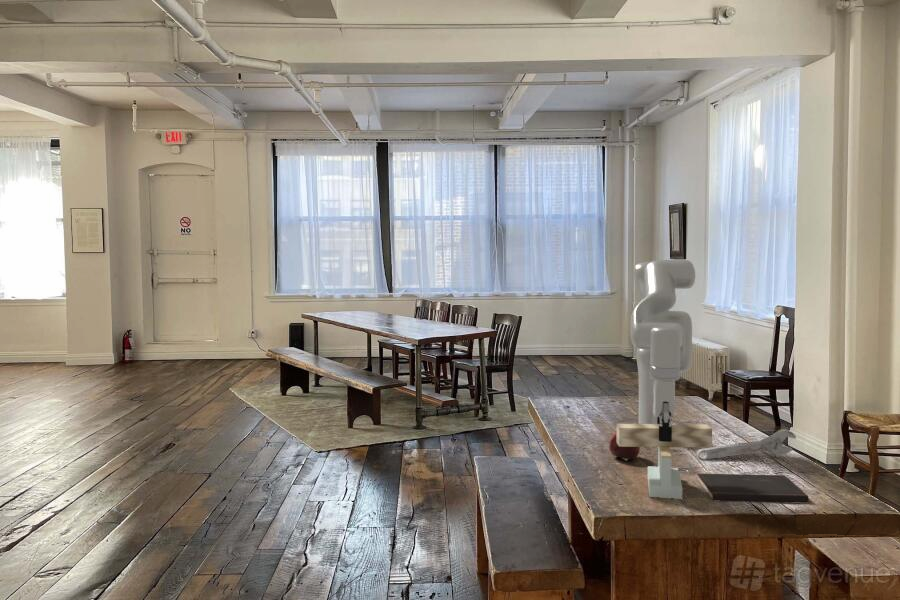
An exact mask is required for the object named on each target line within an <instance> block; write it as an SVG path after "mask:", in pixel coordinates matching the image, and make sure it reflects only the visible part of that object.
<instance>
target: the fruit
mask: <svg viewBox="0 0 900 600" xmlns="http://www.w3.org/2000/svg"><path fill="white" fill-rule="evenodd" d="M616 435H617V432H615V433H614V434H613V435H612V437H611V438H610V439H609V440H610V441H609V443H608V445H609V447H608V448H609V451H610V453H611V454H612V455H613V456H614V457H617V458H618V459H619V458H620V459H621V460H624V461H626V462H627V461H629V460H633V459H636V458H637V457H638V455H639V453H640V449H641V448H640V447H619V445H618V444H617V442H616Z"/></svg>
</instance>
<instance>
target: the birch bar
mask: <svg viewBox="0 0 900 600" xmlns="http://www.w3.org/2000/svg"><path fill="white" fill-rule="evenodd" d="M659 426H660V424H639V423H616V433H617V435H616V442H617V444H618V445H619V447H641V448H651V447H652V448H658V447H669V448H711V447H713V428H712V427H711V426H710V425H709V424H706V423H705V424H703V423H701V424H697V423H695V424H693V423H691V424H690V423H688V424H686V423H685V424H684V423H682V424H681V423H680V424H679V423H677V424H671V426H672V441H671V442H663V441H659Z"/></svg>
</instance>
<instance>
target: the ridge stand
mask: <svg viewBox="0 0 900 600" xmlns="http://www.w3.org/2000/svg"><path fill="white" fill-rule="evenodd" d="M657 448H658V449H657V450H658V451H657V457H658V459H657V466H651V465H649V466H647V483H648V495H649V498H657V497H659V499H671V498H674V499H673V500H683V485H682V484H683V483H682V480H681V476H680V472H679V471H680V470H679V467H672V454H671V447H657Z"/></svg>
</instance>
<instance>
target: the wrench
mask: <svg viewBox="0 0 900 600" xmlns="http://www.w3.org/2000/svg"><path fill="white" fill-rule="evenodd" d="M786 438H792V439H797V436H796V434H795V433H794V432H792V431H790V430H788V429H779V430H777V431H776V432H774V433H773V434H770V435H769V436H767V437H766V438H763V439H761V440H756V441H749V442H743V443H735V444H734V443H733V444H727V445H720V446H712V447H703V448H699V449H698V450H696V457H697V458H698V459H699V460H711V459H712V460H713V459H717V458H724V457H730V456H731V457H732V456H739V455H744V454H749V453H759V452H766V453H767V452H768V453H769V454H771V457H773V458H775V457H776V458H777V457H778V458H779V456H781V455H786V454H789V453H790V452H792V451H793V448H792V447H790V446H789V445H788V446H787V445H784V443H783V442H784V441H785V440H786ZM702 452H704V456H703V457H701V456H700V454H701V453H702Z"/></svg>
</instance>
